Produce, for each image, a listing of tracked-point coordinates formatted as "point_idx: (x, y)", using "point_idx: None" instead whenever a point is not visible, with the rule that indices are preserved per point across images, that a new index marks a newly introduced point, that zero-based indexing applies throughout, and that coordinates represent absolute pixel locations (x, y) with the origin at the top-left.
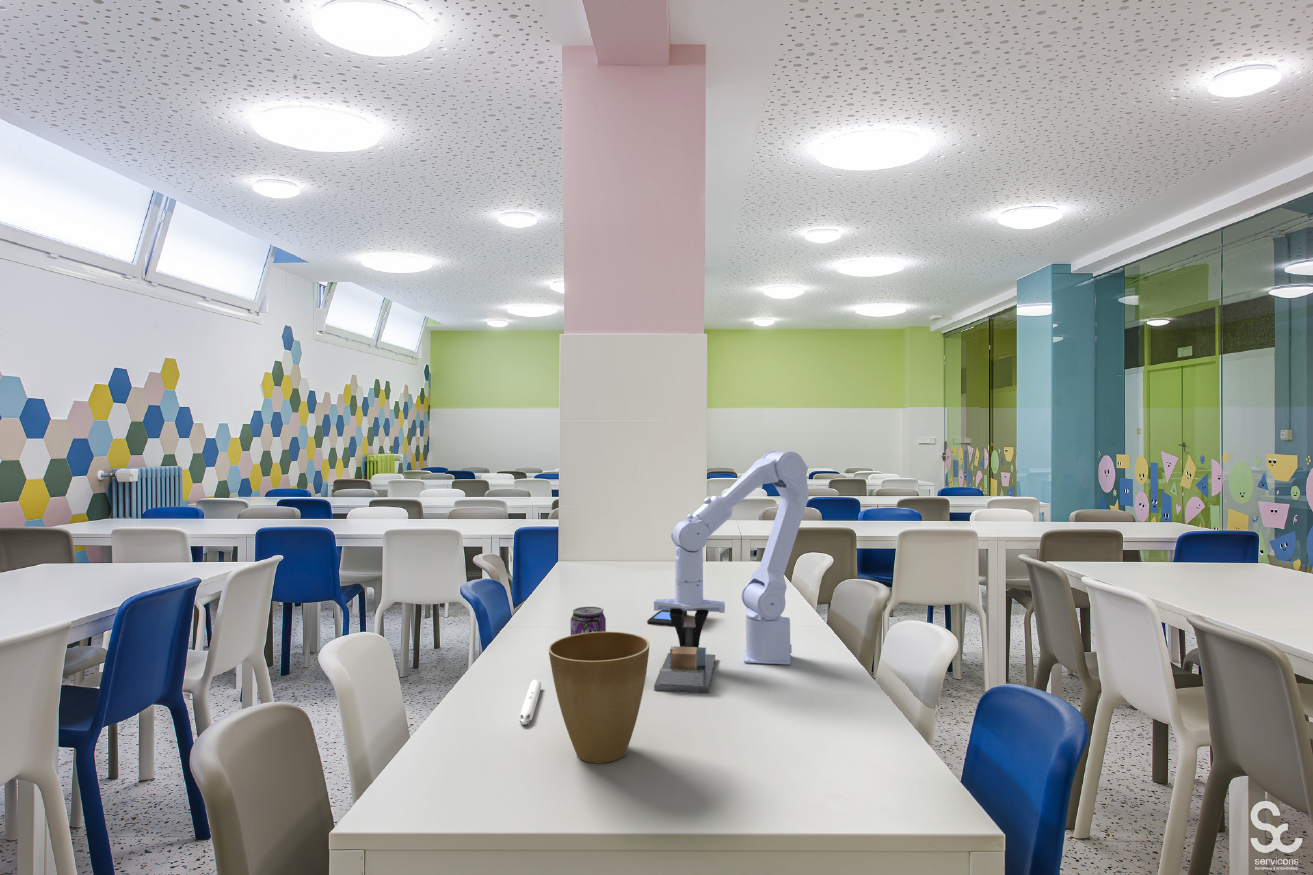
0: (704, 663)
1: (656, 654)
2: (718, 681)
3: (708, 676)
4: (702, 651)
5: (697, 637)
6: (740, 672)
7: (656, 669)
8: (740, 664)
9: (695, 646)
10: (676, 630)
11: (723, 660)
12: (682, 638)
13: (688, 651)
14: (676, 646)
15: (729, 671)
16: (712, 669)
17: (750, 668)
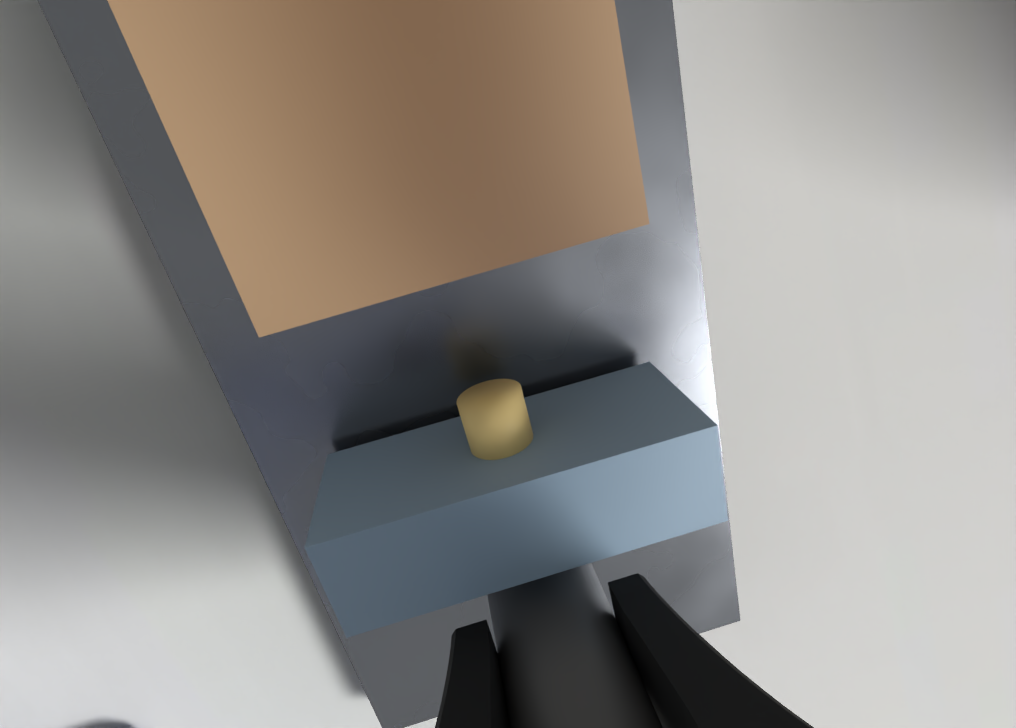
0: (330, 461)
1: (814, 610)
2: (91, 241)
3: (158, 198)
4: (336, 529)
5: (457, 720)
6: (43, 542)
7: (743, 322)
8: (154, 693)
9: (478, 628)
10: (777, 703)
11: (321, 707)
12: (646, 643)
13: (284, 8)
14: (673, 536)
15: (147, 525)
16: (257, 448)
17: (24, 655)
